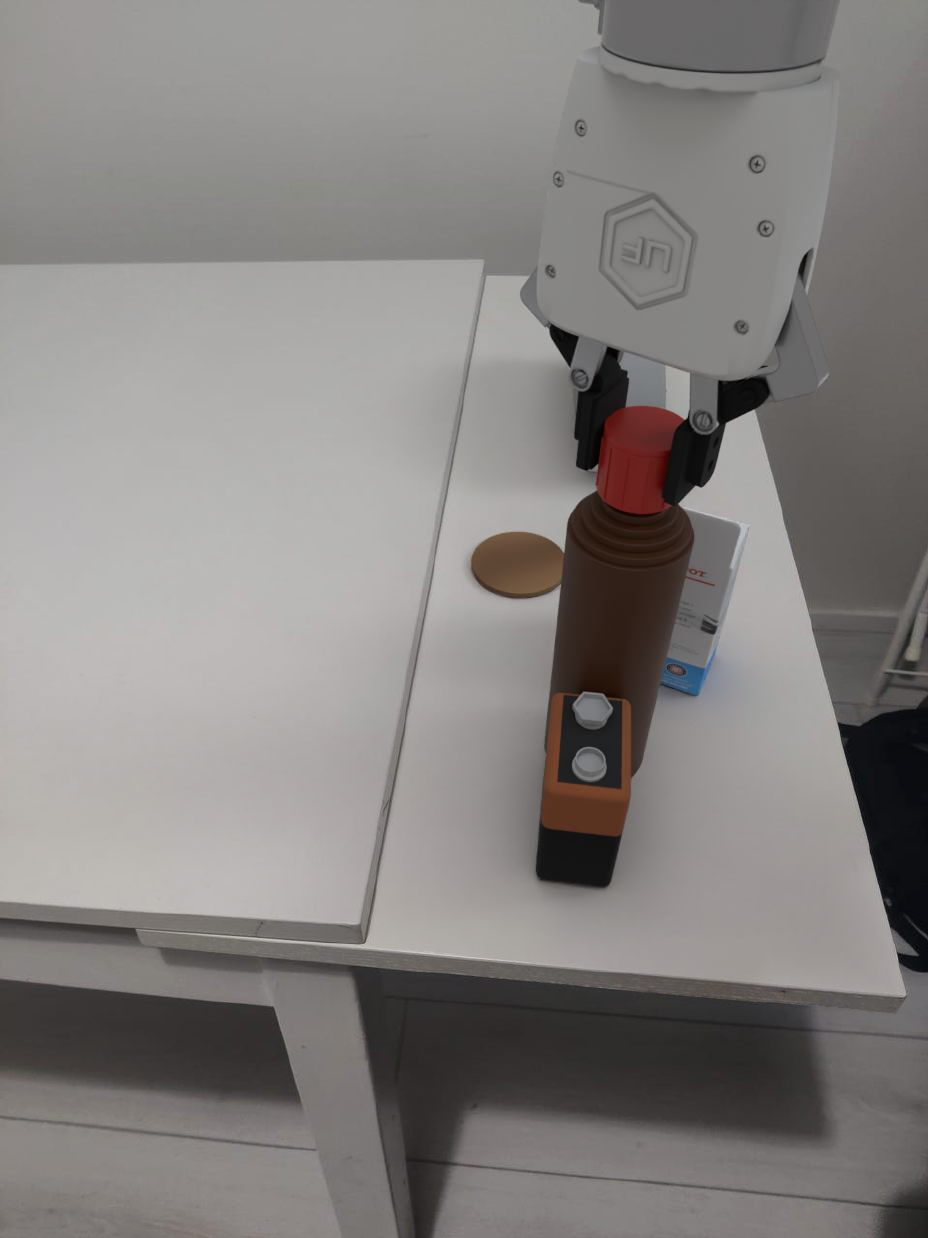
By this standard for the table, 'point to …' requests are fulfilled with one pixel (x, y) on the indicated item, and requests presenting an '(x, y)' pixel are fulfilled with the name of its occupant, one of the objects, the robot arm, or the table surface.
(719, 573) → the ink box
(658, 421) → the cap
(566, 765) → the battery
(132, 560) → the table surface
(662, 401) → the alarm clock
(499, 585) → the coaster
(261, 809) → the table surface
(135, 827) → the table surface
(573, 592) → the bottle
